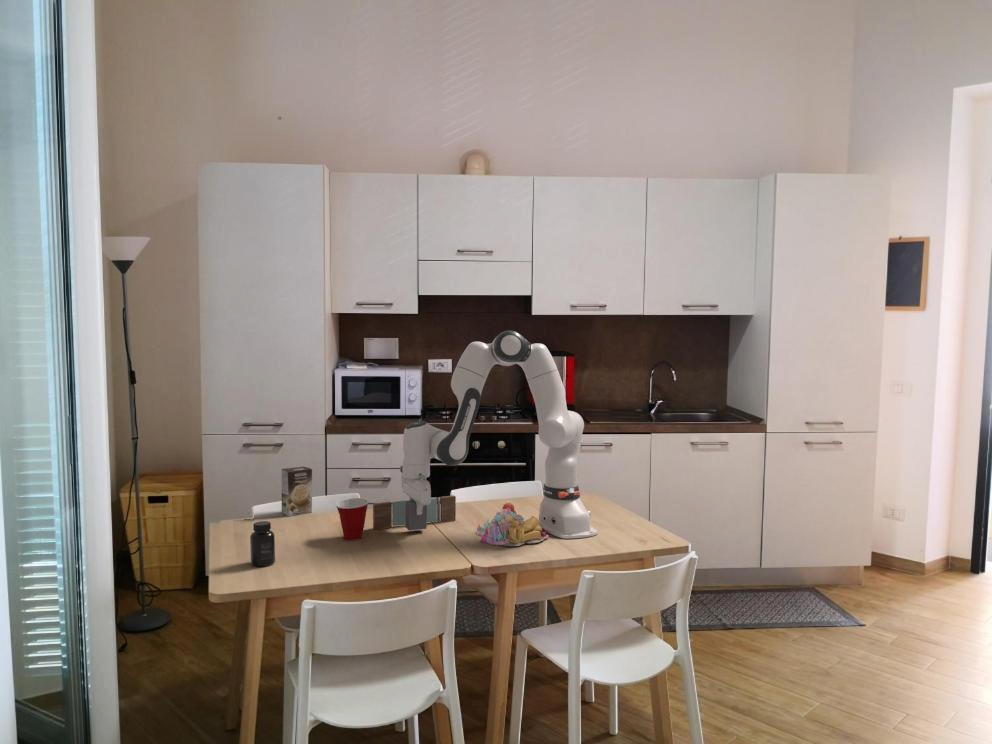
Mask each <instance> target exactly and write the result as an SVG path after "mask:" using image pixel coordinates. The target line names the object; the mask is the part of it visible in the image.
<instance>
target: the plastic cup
mask: <svg viewBox="0 0 992 744" xmlns="http://www.w3.org/2000/svg"><path fill="white" fill-rule="evenodd" d="M369 503H370V500H369V499H368V498H365V497H353V498H345V499H340V500H338V501H337V502H335V504H334V506H335V507H336V509H337V512H338V515H339V519H340V526H341V529H342V535H343V539H345V540H347V541H357V540H361V539H362V538H363V533H364V530H365V521H366V516H367V511H368V505H369Z"/></svg>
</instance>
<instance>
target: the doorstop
mask: <svg viewBox="0 0 992 744" xmlns="http://www.w3.org/2000/svg"><path fill="white" fill-rule="evenodd" d="M407 500H408V501H406V524H405V525H404V526H405V528H406V529H407V530H408V531H417V530H418V531H419V530H426V529H427V528H428V527H427V523H428V522H427V505H423V509H422V514H421V515H417V514H416V508H417V505H416V501H414V500H409V499H407Z"/></svg>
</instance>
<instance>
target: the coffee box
mask: <svg viewBox="0 0 992 744" xmlns="http://www.w3.org/2000/svg"><path fill="white" fill-rule="evenodd" d="M281 513H282V514H284V515H286V516H287V517H294V516H300V515H305V514H306V515H307V514H312V513H313V468H311V467H308V466H296V467H295V466H294V467H287V468H281Z"/></svg>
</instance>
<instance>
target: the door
mask: <svg viewBox="0 0 992 744" xmlns="http://www.w3.org/2000/svg"><path fill="white" fill-rule="evenodd" d="M408 500H409V499H407V500H406V499H404V500H394V501H391V503H392V527H397V526H399V527H400V526H405V524H406V501H408ZM440 509H441V496H439V497H436V496H435V497H431V503H430V505H427V523H435V522H441V521H440Z"/></svg>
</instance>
